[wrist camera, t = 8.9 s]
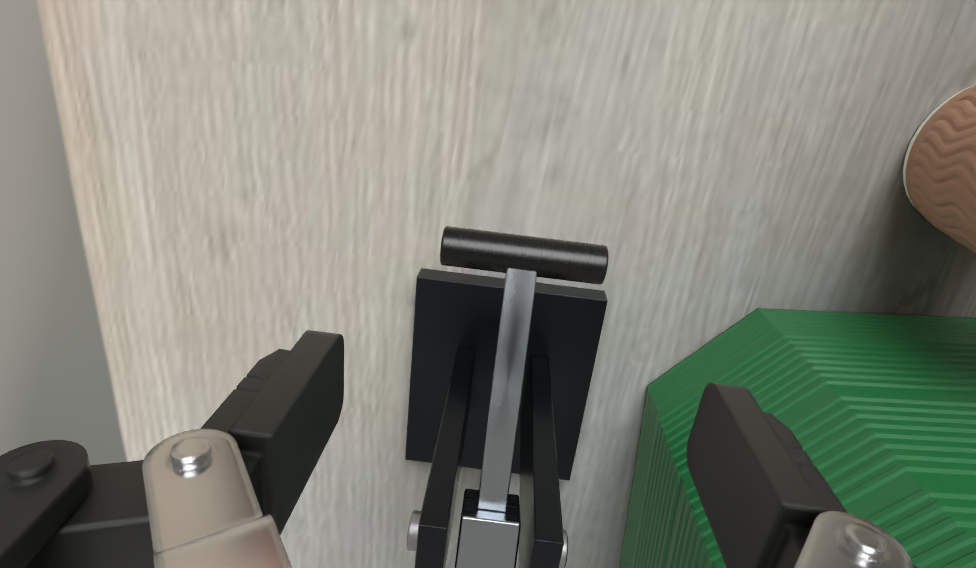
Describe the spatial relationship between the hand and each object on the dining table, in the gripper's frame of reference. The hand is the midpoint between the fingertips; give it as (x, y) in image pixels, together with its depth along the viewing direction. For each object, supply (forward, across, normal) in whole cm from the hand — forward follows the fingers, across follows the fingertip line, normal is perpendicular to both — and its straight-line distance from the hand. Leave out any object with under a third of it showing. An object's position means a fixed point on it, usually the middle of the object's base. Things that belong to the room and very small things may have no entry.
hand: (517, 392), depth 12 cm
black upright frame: (+17, 0, +10) cm, 20 cm away
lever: (+8, 0, +6) cm, 10 cm away
